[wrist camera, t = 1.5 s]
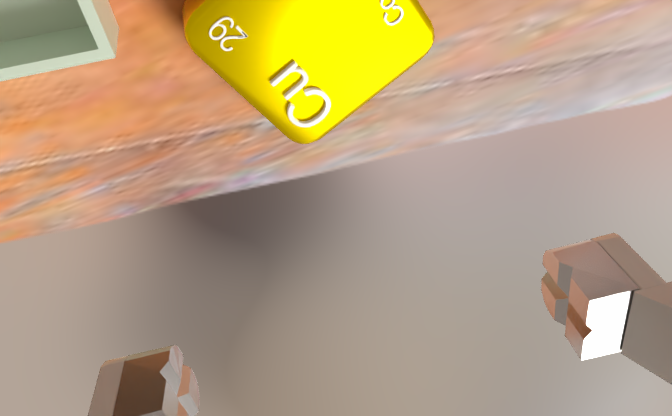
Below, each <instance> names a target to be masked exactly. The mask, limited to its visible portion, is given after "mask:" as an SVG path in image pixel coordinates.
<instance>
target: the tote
mask: <svg viewBox="0 0 672 416" xmlns="http://www.w3.org/2000/svg"><path fill="white" fill-rule="evenodd" d="M118 33H119V26H118V24H117V21H116V19H115V16H114V14H113V11H112V9H111V6H110V4H109V1H108V0H0V81H5V80H9V79H14V78H19V77H24V76H29V75H34V74H39V73H43V72H48V71H53V70H58V69H63V68H68V67H73V66H77V65H82V64H87V63H92V62H97V61H102V60H107V59H112V58H116V50H117V42H118Z"/></svg>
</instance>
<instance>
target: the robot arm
mask: <svg viewBox="0 0 672 416" xmlns="http://www.w3.org/2000/svg"><path fill="white" fill-rule="evenodd" d="M543 266H544V267H545V268H546V270H547V273H546V274H545V275H544V276H543V278H542V280H541V284H542V285H541V291H542V294H543V299H544V302H545V305H546V307H547V309H548V311H549V313H550V314H551V316H552V317H553V319H554V320H555V321H557V322H560V323H561V324H563V325H565V326H566V329H565V337H566V338H567V340H568V341H569V343H570V344H571V346H572V347H573V349H574V350H575V352H576V353H577V355H578V356H579V358H580V359H581V360H584V359H589V358H593V357H598V356H602V355H606V354H611V353H615V352H620V351H621V354H623V355H625V356H626V357H628V358H629V359H631V360H633V361H634V362H636V363H637V364H639V365H641V366H643V367H644V368H646V369H648V370H649V371H650V372H652V373H654V374H656V375H657V376H659V377H661V378H662V379H663V380H665V381H667V382H669V383H670V384H672V282H668V283H666V282H665V281H664V280H663V279H662V278H661V277H660V276H659V275H658V274H657V273H656V272H655V271H654V270H653V269H652V268H651V267H650V266H649V265H648V264H647V263H646V262H645V261H644V260H643V259H642V258H641V257H640V256H639V255H638V254H637V253H636V252H635V251H634V250H633V249H632V248H631V247H630V246H629V245H628V244H627V243H626V242H625V241H624V240H623V239H622V238H621V237H620V236H619V235H618V234H615V233H611V234H608V235H604V236H600V237H596V238H592V239H590V240H584V241H581V242H577V243H573V244H569V245H566V246H562V247H558V248H554V249H550V250H546V251H545V253H544V255H543ZM199 401H200V397H199V389H198V383H197V380H196V377H195V375H194V373H193V371H192V369H191V368H190V367H188V366H185V365H183V354H182V352H181V351H180V349H179V348H178V346H176V345H175V346H174V345H172V346H168V347H164V348H160V349H155V350H150V351H146V352H141V353H137V354H133V355H128V356H126V357H121V358H117V359H112V360H108V361H105V362H104V364H103V365H102V366H101V368H100V371H99V375H98V379H97V383H96V387H95V390H94V394H93V398H92V402H91V405H90V409H89V413H88V416H196V414H197V413H198V411H199Z"/></svg>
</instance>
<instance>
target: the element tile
mask: <svg viewBox="0 0 672 416" xmlns="http://www.w3.org/2000/svg"><path fill="white" fill-rule="evenodd" d="M183 23H184V33H185V38H186V40H187V42H188V44H189V46H190V48H191V49H192V50H193V51H194V53H195V54H197V55H198V56H199V57H200V58H201V59H202V60H203V61H204V62H205V63H206V64H208V65H209V66H210V67H211V68H212V69H213V70H214V71H215V72H216V73H217V74H218V75H220V76H221V77H222V78H223V79H224V80H225V81H226V82H227V83H228V84H229V85H231V86H232V87H233V88H234V89H235V90H236V91H237V92H238V93H239V94H240V95H242V96H243V97H244V98H245V99H246V100H247V101H248V102H249V103H250V104H251V105H253V106H254V107H255V108H256V109H257V110H258V111H259V112H260V113H261V114H262V115H264V116H265V117H266V118H267V119H268V120H269V121H270V122H271V123H272V124H273V125H274V126H276V127H277V128H278V129H279V130H280V131H281V132H282V133H283V134H284V135H285V136H287V137H288V138H289V139H291V140H292V141H294V142H297V143H300V144H309V143H312V142H315V141H317V140H319V139H321V138H322V137H324V136H325V135H326V134H327V133H329V132H330V131H331V130H332V129H334V128H335V127H336V126H337V125H339V124H340V123H341V122H342V121H344V120H345V119H346V118H348V117H349V116H350V115H351V114H353V113H354V112H355V111H356V110H358V109H359V108H360V107H361V106H363V105H364V104H365V103H366V102H368V101H369V100H370V99H371V98H373V97H374V96H375V95H377V94H378V93H379V92H380V91H382V90H383V89H384V88H385V87H387V86H388V85H389V84H390V83H392V82H393V81H394V80H395V79H397V78H398V77H399V76H401V75H402V74H403V73H404V72H406V71H407V70H408V69H409V68H411V67H412V66H413V65H414V64H416V63H417V62H418V61H419V60H421V59H422V58H423V57H424V56H425V55H426V54H427V53H428V51H429V50H430V48H431V47H432V45H433V41H434V28H433V25H432V23H431V21H430V19H429V18H428V16H427V14H426V13H425V11H424V10H423V8H422V6H421V5H420V3H419V2H418V0H185V3H184V5H183Z"/></svg>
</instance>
